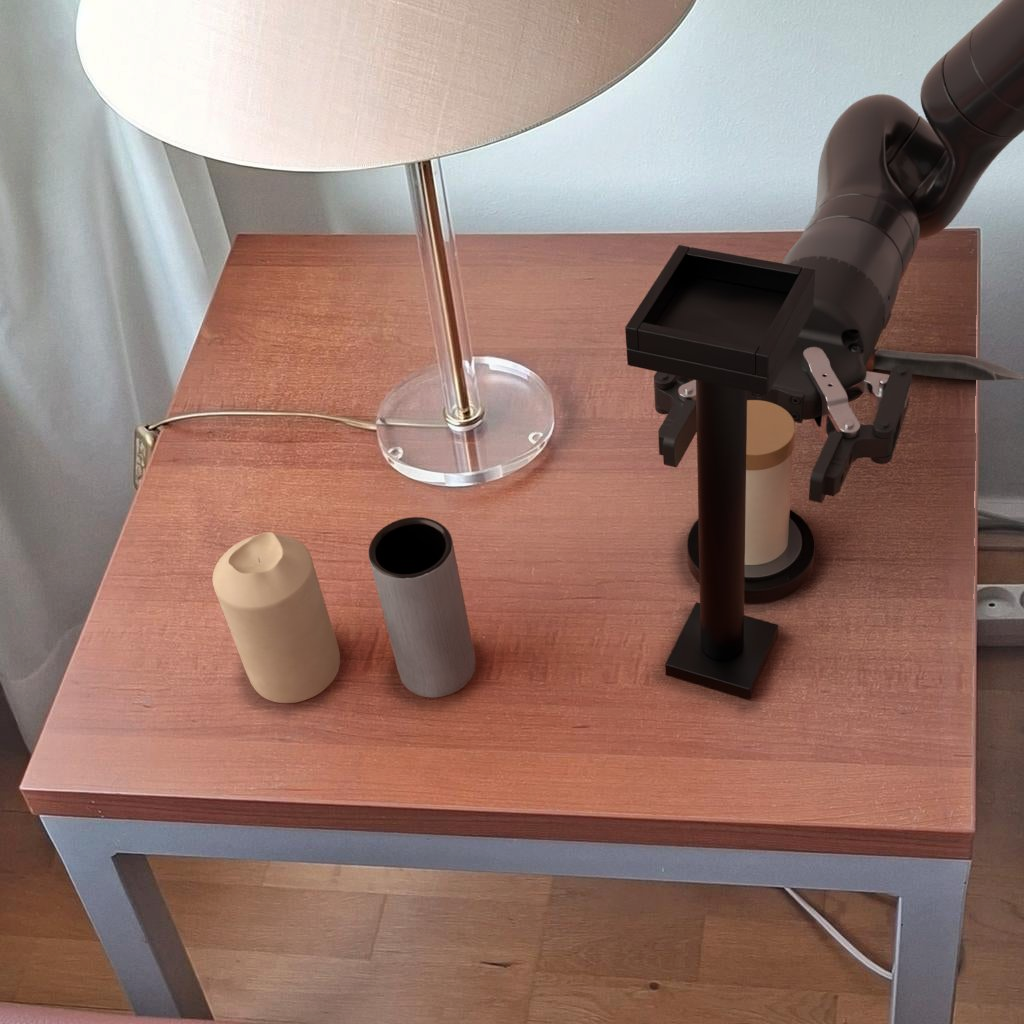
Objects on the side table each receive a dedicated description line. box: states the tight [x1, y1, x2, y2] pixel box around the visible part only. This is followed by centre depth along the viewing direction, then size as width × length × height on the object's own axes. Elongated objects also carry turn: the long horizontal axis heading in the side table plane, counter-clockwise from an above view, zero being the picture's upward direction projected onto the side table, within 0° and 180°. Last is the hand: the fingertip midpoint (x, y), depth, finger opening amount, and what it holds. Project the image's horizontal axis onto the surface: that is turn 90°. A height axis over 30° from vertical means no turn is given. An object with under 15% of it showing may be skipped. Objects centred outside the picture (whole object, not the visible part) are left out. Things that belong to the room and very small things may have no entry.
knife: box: [866, 347, 1024, 382], centre depth 97 cm, size 18×2×3 cm
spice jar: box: [745, 400, 796, 565], centre depth 82 cm, size 5×5×9 cm
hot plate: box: [686, 509, 816, 605], centre depth 85 cm, size 8×8×2 cm
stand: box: [624, 244, 815, 701], centre depth 72 cm, size 7×7×25 cm
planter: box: [367, 516, 476, 698], centre depth 79 cm, size 4×4×10 cm
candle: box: [212, 531, 341, 704], centre depth 80 cm, size 6×6×10 cm
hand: (741, 473), depth 79 cm, fingers open, 8 cm apart
